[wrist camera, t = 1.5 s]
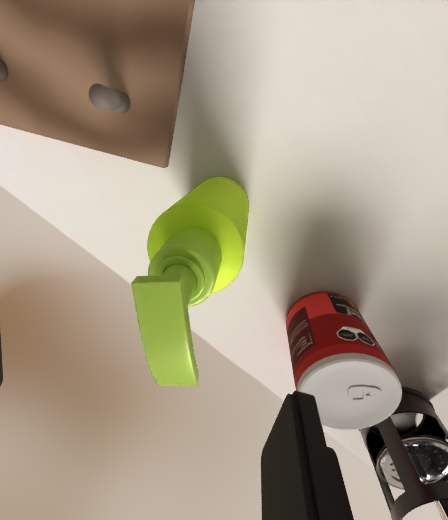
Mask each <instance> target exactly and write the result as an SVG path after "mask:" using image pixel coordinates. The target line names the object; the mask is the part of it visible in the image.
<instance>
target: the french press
mask: <svg viewBox="0 0 448 520" xmlns="http://www.w3.org/2000/svg"><path fill="white" fill-rule="evenodd" d="M404 412H414V413H421V414H423V419H422V421H421V423H420V424H419V425H418V427H416V428H415V429H414V430H412V431H410V432H408V433H406V434H402V435H399V434H398V432H397V430H396V428H395V426H394V424H393V422H392V419H391V417H390V416H389V417H388V418H386V419H385V420H383V421H381V422H380V423H378V424H377V426H378V428H379V431H380V433H381V434H378V433H376V432H374V431H373V430H371V427H372V426H370V427H366V428H362V429H359V431H360V432H361V434H362V437H363V440H364V443H365V446H366V448H367V449H368V452H369V454H370V457H371V460H372V463H373V466H374V468H375V471H376V474H377V477H378V479H379V482H380V485H381V488H382V490H383V493H384V496H385V499H386V502H387V504H388V507H389V510H390V513H391V518H392V520H402V518H403V517H404V516H405V515H406V514H407V513H408V512H410V511H411V510H413V509H414V508H417V507H419V506H421V505H424V504H427V503H430V502H434V503H435V505H436V507H437V509H438V511H439V513H440V515H441V517H442V519H443V520H447V518H446V516H445V514H444V512H443V511H442V509H441V507H440V505H439V503H438V501H440V503H441V505H442V507H443V509H444V511H445V513H446V515H447V517H448V442H447V441H446V439H448V431H447V430H446V428H445V427H444V425H443V424H442V422H441V421H440V419H439V418H438V416H437V415H436V413H435V410H434V408H433V405H432V403H431V402H430V401H429V399H428V398H427V397H425V396H424V395H423V394H422V393H420V392H418V391H416V390H413V389H409V388H404V387H402V397H401V401H400V403H399V406H398V407H397V408H396V410H395V411H394V412H393V413H392V414H391V415H393V414H397V413H404ZM388 484H390V485H391V486H393V487H396V488H399V489H403V490H405V492H404V493H403V494H402V495H400V496H399V497H398V498H397V499H396V500H395V501H394V498H393V496H392V493H391V490H390V488H389V485H388Z"/></svg>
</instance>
